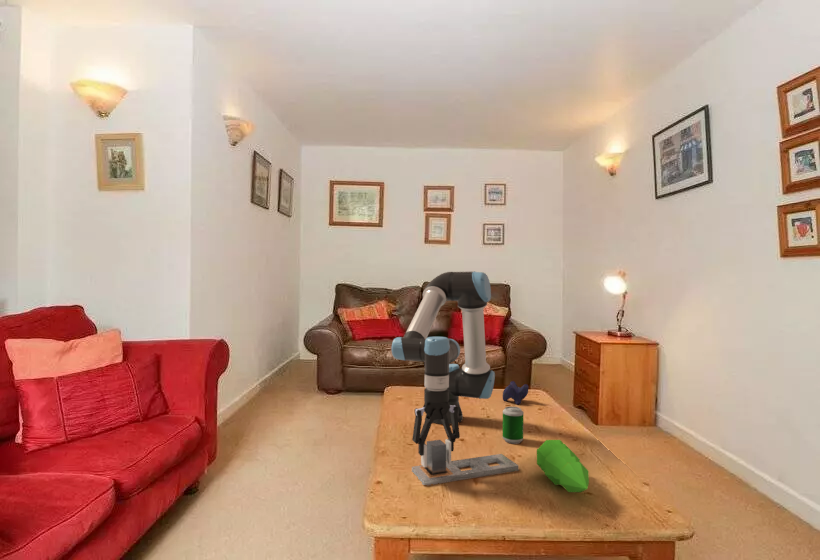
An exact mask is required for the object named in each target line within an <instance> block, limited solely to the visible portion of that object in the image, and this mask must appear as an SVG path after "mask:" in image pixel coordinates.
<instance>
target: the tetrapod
mask: <svg viewBox="0 0 820 560" xmlns="http://www.w3.org/2000/svg"><path fill="white" fill-rule="evenodd" d="M529 387H530V386H529V385H528V384H527V383H526V384H523V385H522V386H521V387H520V386H518V385H517V383H516V382H515V381H514V380H512V381H510V382H509V384H508V386H506V387H505V388H504V390H503V391H502V400H503V401H504V402H507V401H508V400H509V399H512V400H513V401H514V403H515V405H518V406H519V405H521V403H522V401H523V400H524V399H526V397H527V395H528V393H529V389H530V388H529Z"/></svg>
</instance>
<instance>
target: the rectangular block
mask: <svg viewBox="0 0 820 560" xmlns="http://www.w3.org/2000/svg"><path fill="white" fill-rule="evenodd" d="M426 445H427V468H426V470H427V471H428V472H429V473H430V474H431V475H435V474H441V473H446V444H445V442H443V441H442V439H435V440H428V441H427V440H426Z"/></svg>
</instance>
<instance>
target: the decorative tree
mask: <svg viewBox="0 0 820 560" xmlns="http://www.w3.org/2000/svg"><path fill="white" fill-rule="evenodd" d="M536 465H537V466H538V467H539V468H540V469H541V470H542V472H543V473H544V475H545V477H547V478H548V480H550V481H551V482H552V483H553V484H554V486H561V487H563V488H564V490H566V492H568V493H582V492H584V491H587V490H588V488H589V485H590V481H589V480H590V479H589V473H590V471H589V470H588V469H587V467H585V465H583V463H582V462H581V460H580V458H579V457H578V456H577V455H576V454H575V453H574V452H573V450H572V449H571V448H569V447H568V445H567V444H566V443H564V442H563V441H562V440H561V439H546V440H545V441H544V442H542V443H541V444H540V445H539V447H538V448H537V449H536Z"/></svg>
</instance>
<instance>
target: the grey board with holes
mask: <svg viewBox="0 0 820 560" xmlns="http://www.w3.org/2000/svg"><path fill="white" fill-rule="evenodd" d="M494 463H496V464H498V465H493V466H492V465H489V464H494ZM519 467H520V466H519V464H518V463H516V462H514V461H513V460H511V459H510V458H509V457H507V456H505V455H504V454H502V453H497V454H490V455H484V456H483V455H482V456H477V457H470V458H462V459H457V460H455V459H454V460H451V464H449V463H447V462H446V473H441V474H435V475H431V474H430V473H429V472H428V471H427V470H426V468H427V467H424V466H423V465H422V464H421V465H414V466H411V473H412V472H413V473H414V474H415V475H416V476H417V477H418V479H419V480H420V481H421V482H422V483H421V482H420V481H419V480H418V479H417V480H418V481H419V482H420V483H421V485H422V486H423V485H427V486H431V484H433V485H438V483H439V484H444V483H450V482H451V483H452V482H456V481H457V482H458V481H463V480H469V479H475V478H482V477H487V476H494V475H499V474H507V473H513V472H518V471H520V470H519V469H520V468H519ZM461 468H470V469H468V470H467V469H466V470H461ZM413 473H412V474H413ZM414 474H413V475H414ZM415 475H414V476H415ZM416 476H415V477H416ZM417 477H416V478H417Z"/></svg>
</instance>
